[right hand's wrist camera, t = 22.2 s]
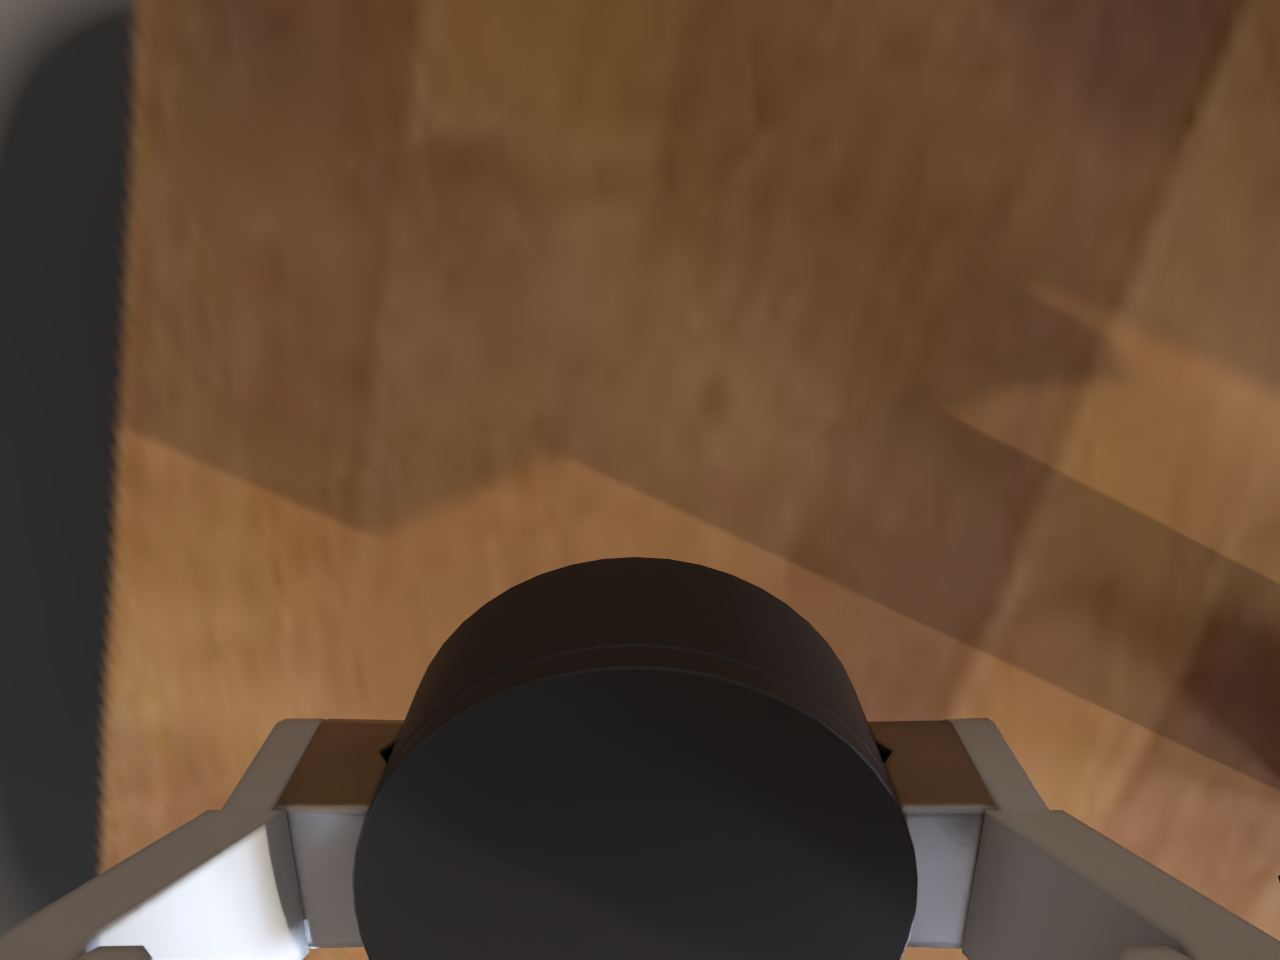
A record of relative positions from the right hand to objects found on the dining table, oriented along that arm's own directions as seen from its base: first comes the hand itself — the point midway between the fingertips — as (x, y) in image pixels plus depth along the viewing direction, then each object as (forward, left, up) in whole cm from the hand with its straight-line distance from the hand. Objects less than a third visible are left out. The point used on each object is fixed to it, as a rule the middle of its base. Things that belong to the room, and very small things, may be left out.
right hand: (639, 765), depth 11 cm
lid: (0, 0, +2) cm, 2 cm away
